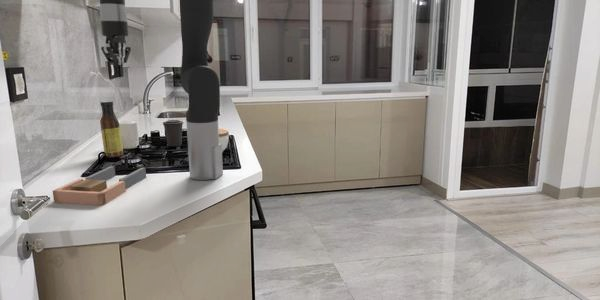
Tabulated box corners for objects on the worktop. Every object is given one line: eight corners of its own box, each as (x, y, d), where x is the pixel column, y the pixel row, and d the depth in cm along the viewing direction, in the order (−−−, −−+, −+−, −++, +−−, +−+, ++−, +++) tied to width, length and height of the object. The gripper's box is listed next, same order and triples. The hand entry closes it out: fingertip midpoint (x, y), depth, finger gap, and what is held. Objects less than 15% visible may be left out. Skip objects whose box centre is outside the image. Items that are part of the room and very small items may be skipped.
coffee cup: (186, 146, 166) (184, 121, 164) (164, 147, 164) (162, 122, 161) (184, 142, 174) (182, 118, 171) (163, 143, 171) (161, 119, 169)
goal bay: (125, 191, 114) (124, 181, 113) (102, 205, 104) (101, 193, 104) (80, 188, 116) (79, 178, 116) (54, 202, 106) (52, 190, 106)
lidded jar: (226, 155, 153) (225, 130, 150) (197, 155, 153) (195, 130, 151) (231, 148, 163) (230, 124, 161) (204, 148, 163) (202, 124, 161)
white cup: (133, 149, 161) (130, 124, 158) (114, 148, 162) (112, 123, 160) (144, 145, 168) (142, 120, 166) (126, 144, 170) (124, 119, 168)
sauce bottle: (127, 154, 154) (121, 100, 149) (114, 158, 148) (108, 102, 143) (113, 153, 156) (107, 99, 151) (100, 157, 150) (93, 102, 145)
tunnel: (146, 177, 127) (145, 167, 126) (124, 190, 115) (122, 179, 115) (111, 175, 129) (110, 166, 128) (86, 188, 117) (85, 177, 116)
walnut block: (107, 194, 112) (106, 180, 112) (92, 202, 107) (90, 187, 106) (88, 193, 114) (86, 179, 113) (72, 200, 108) (70, 186, 107)
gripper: (113, 18, 122) (118, 78, 126) (136, 21, 134) (140, 76, 139) (89, 18, 123) (95, 78, 127) (115, 21, 136) (119, 75, 140)
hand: (119, 77), depth 133 cm, fingers closed
